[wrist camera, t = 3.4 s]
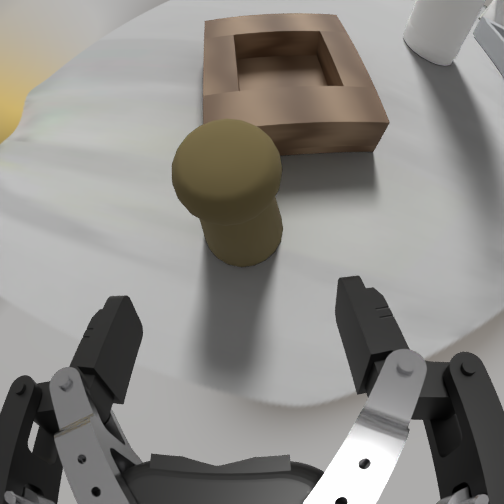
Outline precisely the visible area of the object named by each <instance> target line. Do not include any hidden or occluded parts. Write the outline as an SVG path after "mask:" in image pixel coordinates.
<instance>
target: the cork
mask: <svg viewBox="0 0 504 504" xmlns="http://www.w3.org/2000/svg"><path fill="white" fill-rule="evenodd" d="M281 176H282V165H281V159H280V154H279V152H278V150H277V148H276V146H275V145H274V143H273V141H272V140H271V138H270V136H268V135H267V134H266V133H265V132H264V131H262V130H261V129H260V128H259V127H257V126H255V125H253V124H250V123H247V122H245V121H242V120H236V119H221V120H214V121H211V122H208V123H206V124H204V125H201V126H199V127H198V128H196V129H195V130H194V131H192V132H191V133H190V134H189V135H187V137H186V138H185V139H184V141H183V142H182V143H181V145H180V146H179V148H178V149H177V151H176V154H175V157H174V160H173V163H172V183H173V186H174V189H175V192H176V194H177V197H178V199H179V200H180V202H181V203H182V204H183V205H184V206H185V207H186V208H187V210H188V211H189V212H190V213H191V214H192V215H194V216H196V217H198V218H200V222H201V225H202V229H203V232H204V236H205V239H206V241H207V244H208V246H209V248H210V250H211V251H212V252H213V254H214V255H215V256H216V257H217V258H218V259H220V260H221V261H223V262H225V263H227V264H229V265H233V266H238V267H246V266H254V265H256V264H258V263H261V262H263V261H265V260H266V259H267V258H268V257H270V256H271V255H272V254H273V253H274V252H275V250H276V249H277V247H278V245H279V243H280V241H281V237H282V232H283V226H282V219H281V215H280V211H279V208H278V205H277V201H276V198H275V195H276V194H277V192H278V190H279V186H280V181H281Z"/></svg>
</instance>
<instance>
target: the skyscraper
mask: <svg viewBox="0 0 504 504" xmlns="http://www.w3.org/2000/svg"><path fill="white" fill-rule="evenodd" d="M482 16H483V17H485V18H488V19H490V20H492V21H494V22H496V23H498V24H500V25H502V26H503V27H504V0H493V1H492V2H491V4H490V5H489V6H488V7H487V8H486V10H485V11H484V12H483V13H482V15H481V16H480V17H479V19H481V17H482Z"/></svg>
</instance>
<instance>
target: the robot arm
mask: <svg viewBox="0 0 504 504" xmlns="http://www.w3.org/2000/svg"><path fill="white" fill-rule="evenodd" d="M335 316H336V323H337V326H338V329H339V333H340V336H341V339H342V343H343V346H344V349H345V353H346V356H347V360H348V363H349V366H350V370H351V374H352V377H353V381H354V384H355V388H356V392H357V394H362V393H367V396H368V400H367V402H366V404H365V406H364V408H363V409H362V411H361V413H360V414H359V416H358V418H357V420H356V422H355V423H354V426H353V427H352V429H351V431H350V432H349V434H348V436H347V438H346V439H345V441H344V443H343V445H342V447H341V448H340V450H339V451H338V453H337V455H336V456H335V458H334V459H333V461H332V463H331V464H330V466H329V467H328V469H327V470H326V472H323V471H322V470H320V469H317V468H315V467H313V466H310V465H307V464H303V463H299V462H291V461H290V455H282V456H269V457H254V458H250V459H246V460H242V461H239V462H234V463H230V464H226V465H221V466H214V465H210V464H206V463H202V462H199V461H195V460H192V459H188V458H185V457H181V456H169V455H159V454H151V460H150V461H148V462H144V463H143V462H142V461H141V459H140V458H139V457H138V456H137V455H136V453H135V452H134V451H133V450H132V448H131V446H130V445H129V443H128V441H127V439H126V437H125V435H124V433H123V431H122V429H121V427H120V425H119V423H118V421H117V419H116V417H115V414H114V413H113V411H112V410H111V407H112V404H113V403H117V404H124V399H125V396H126V392H127V388H128V385H129V381H130V378H131V374H132V370H133V367H134V363H135V360H136V357H137V353H138V350H139V347H140V343H141V340H142V336H143V328H142V324H141V321H140V319H139V317H138V315H137V313H136V311H135V308H134V306H133V304H132V302H131V300H130V298H129V297H128V296H111V297H109V298H108V299H107V301H106V303H105V305H104V307H103V309H100V310H99V311H98V312H97V313H96V314H95V315H94V316H93V317H92V319H91V321H90V323H89V325H88V327H87V330H86V331H85V333H84V335H83V338H82V340H81V342H80V344H79V346H78V348H77V351H76V353H75V355H74V357H73V360H72V362H71V364H70V367H66V368H62V369H60V370H59V371H57V372H56V373H55V374H54V376H53V377H52V379H51V381H49V382H44V383H38V384H36V383H35V381H34V380H33V379H32V378H31V377H29V376H26V375H24V376H21V377H19V378H17V379H16V380H15V381H14V382H13V383H12V385H11V387H10V390H9V392H8V395H7V397H6V400H5V402H4V405H3V408H2V411H1V413H0V504H57V502H58V494H59V487H60V481H61V475H62V470H63V468H64V471H65V474H66V477H67V479H68V482H69V484H70V486H71V489H72V492H73V494H74V497H75V499H76V501H77V503H78V504H375V503H376V501H377V499H378V497H379V496H380V494H381V492H382V490H383V488H384V486H385V485H386V482H387V481H388V479H389V477H390V475H391V473H392V470H393V469H394V467H395V465H396V462H397V460H398V458H399V456H400V454H401V451H402V449H403V447H404V444H405V442H406V440H407V437H408V434H409V429H408V426H409V423H410V420H411V419H414V420H423V422H424V425H425V429H426V433H427V437H428V441H429V445H430V449H431V453H432V458H433V462H434V466H435V471H436V476H437V481H438V487H439V492H440V498H441V500H440V501H439V502H437V503H436V504H504V411H503V409H502V406H501V403H500V401H499V398H498V396H497V393H496V391H495V389H494V386H493V384H492V382H491V379H490V377H489V375H488V373H487V371H486V369H485V366H484V365H483V363H482V361H481V360H480V359H479V358H478V357H477V356H476V355H474V354H472V353H469V352H460V353H458V354H456V355H455V356H454V357H453V358H452V359H451V361H450V362H429V361H425V360H424V359H423V357H422V356H421V355H420V354H418V353H417V352H415V351H413V350H410V349H409V347H408V345H407V343H406V341H405V339H404V337H403V335H402V333H401V330H400V328H399V326H398V324H397V322H396V320H395V318H394V317H393V314H392V312H391V310H390V308H388V304H387V302H386V300H385V298H384V296H383V295H382V294H380V293H379V292H378V291H377V290H376V289H375V288H365V286H364V284H363V282H362V280H361V278H360V276H351V277H342V278H339V280H338V287H337V297H336V306H335ZM33 421H34V422H35V423H37V424H38V425H39V429H38V433H37V437H36V441H35V444H34V448H33V452H32V453H31V451H30V450H29V448H28V438H29V435H30V431H31V428H32V424H33Z"/></svg>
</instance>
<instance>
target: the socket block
mask: <svg viewBox="0 0 504 504" xmlns="http://www.w3.org/2000/svg"><path fill="white" fill-rule="evenodd" d="M221 119H236V120H242V121H245V122H247V123H250V124H253V125H255V126H257V127H259V128H260V129H261V130H262V131H264V132H265V133H266V134H267V135H268V136H270V138H271V140H272V141H273V143H274V145H275V146H276V148H277V150H278V152H279V154H280V156H283V155H297V154H313V153H334V152H373V151H374V150H375V148H376V146H377V144H378V143H379V141H380V139H381V137H382V135H383V134H384V132H385V130H386V128H387V126H388V125H389V123H390V122H389V120H388V117H387V115H386V112H385V110H384V107H383V105H382V103H381V100H380V98H379V96H378V93H377V91H376V89H375V87H374V85H373V82H372V80H371V78H370V76H369V74H368V72H367V70H366V68H365V66H364V64H363V62H362V60H361V58H360V56H359V54H358V52H357V50H356V48H355V46H354V44H353V43H352V41H351V39H350V37H349V35H348V34H347V32H346V30H345V29H344V27H343V25H342V23H341V22H340V20H339V18H338V17H337V15H330V14H303V13H290V14H263V15H249V16H239V17H230V18H222V19H215V20H209V21H205V32H204V67H203V125H204V124H206V123H208V122H211V121H214V120H221Z"/></svg>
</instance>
